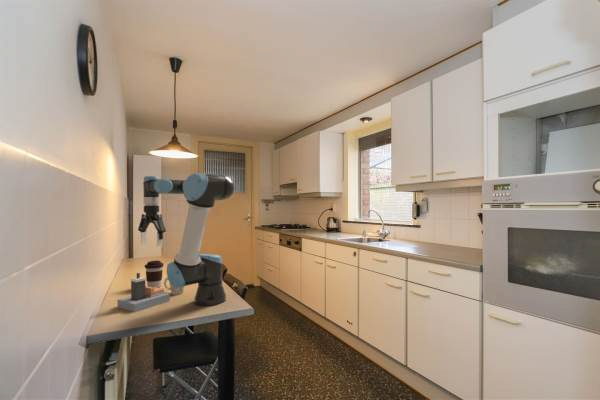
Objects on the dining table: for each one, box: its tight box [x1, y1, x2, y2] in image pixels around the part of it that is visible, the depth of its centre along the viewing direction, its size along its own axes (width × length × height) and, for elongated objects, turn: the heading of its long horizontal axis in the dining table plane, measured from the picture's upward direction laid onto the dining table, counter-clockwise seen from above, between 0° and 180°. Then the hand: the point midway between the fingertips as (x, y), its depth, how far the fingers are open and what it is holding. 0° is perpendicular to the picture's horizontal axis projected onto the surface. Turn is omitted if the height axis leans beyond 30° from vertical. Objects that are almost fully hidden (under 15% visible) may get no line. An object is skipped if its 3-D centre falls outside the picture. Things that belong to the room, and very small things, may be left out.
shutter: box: [145, 285, 165, 296], centre depth 155 cm, size 7×7×4 cm
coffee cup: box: [144, 260, 164, 288], centre depth 180 cm, size 10×10×15 cm
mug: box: [163, 276, 185, 296], centre depth 168 cm, size 8×13×10 cm, turn 78°
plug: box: [130, 272, 146, 301], centre depth 148 cm, size 5×5×16 cm
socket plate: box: [116, 291, 171, 313], centre depth 150 cm, size 14×18×4 cm
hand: (151, 244), depth 165 cm, fingers open, 13 cm apart
